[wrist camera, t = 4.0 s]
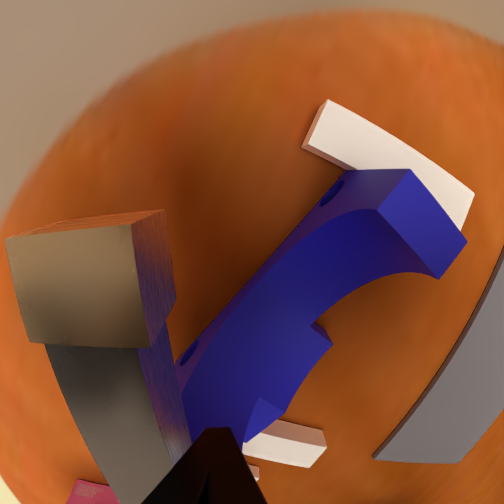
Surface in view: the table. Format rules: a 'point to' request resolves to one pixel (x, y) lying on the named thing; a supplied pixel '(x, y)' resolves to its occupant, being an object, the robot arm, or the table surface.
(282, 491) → the table surface
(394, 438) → the mat
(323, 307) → the cable clip
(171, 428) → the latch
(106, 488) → the gum box
